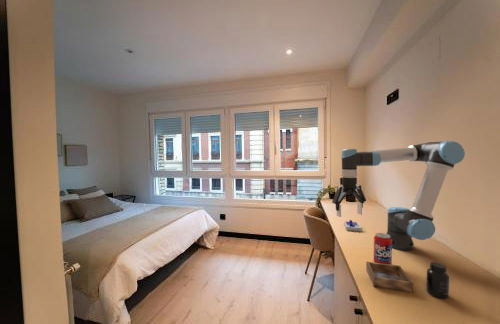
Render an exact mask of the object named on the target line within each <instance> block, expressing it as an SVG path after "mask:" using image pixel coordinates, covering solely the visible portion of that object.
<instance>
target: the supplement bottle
mask: <svg viewBox="0 0 500 324" xmlns="http://www.w3.org/2000/svg"><path fill="white" fill-rule="evenodd" d="M429 263H430V264H429V268H427V270H426V285H425V287H426V292H427V293H428V294H429V295H430V296H431V297H433V298H436V299H440V300H446V299H449V297H450V276H449V273H447V266H446V265H445V264H442V263H441V262H438V261H437V262H436V261H431V262H429Z"/></svg>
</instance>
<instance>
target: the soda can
mask: <svg viewBox="0 0 500 324" xmlns="http://www.w3.org/2000/svg"><path fill="white" fill-rule="evenodd" d="M390 237H391V236H390V235H388V234H386V233H382V232H375V235H374V236H373V262H374V263H382V264H390V265H393V264H392V263H393V261H392V260H393V259H392V258H393V248H392V239H391V238H390Z"/></svg>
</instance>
